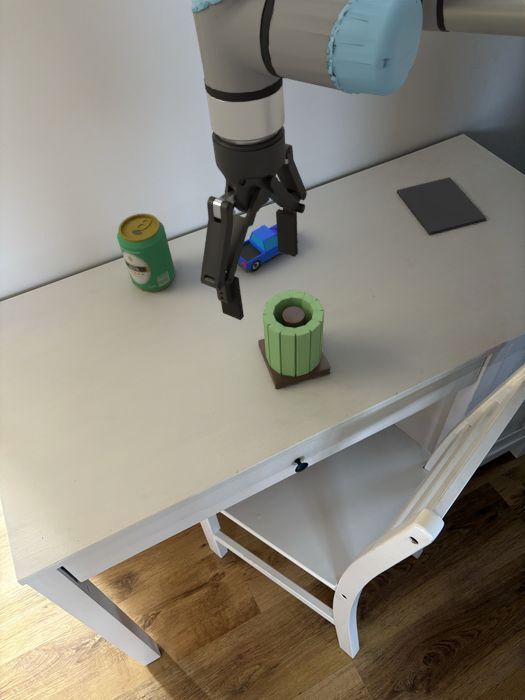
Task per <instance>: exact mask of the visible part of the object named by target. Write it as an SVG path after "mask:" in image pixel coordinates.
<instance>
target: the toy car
mask: <svg viewBox="0 0 525 700" xmlns="http://www.w3.org/2000/svg"><path fill="white" fill-rule="evenodd" d="M297 243H298V244H299V239H297ZM280 253H281V252H279V251H278V239H277V223H276V224H274V225H272V226H270V227H268V226H267V225H265V224H264V225H261V226H260V227H258V228H256V229H254V230H252V231H251V233H250V236H249V238H247V239H245V241H244V244H243V248H242V251H241V255H240V258H239V261H238V265H237V266H239V267H240V268H241V269H242V270H244V271H245V272H246V273H248V272H250V271H252V272H256V271H258V270H259V269H260V268H261V266H262V264H263V263H265V262H266V261H269V260H270V259H272V258H274V257H275V256H277V255H279V254H280Z"/></svg>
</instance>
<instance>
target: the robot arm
mask: <svg viewBox="0 0 525 700" xmlns="http://www.w3.org/2000/svg"><path fill="white" fill-rule="evenodd" d="M190 10H191V13H192V16H193V21H194V26H195V32H196V38H197V44H198V48H199V54H200V59H201V66H202V71H203V81H204V89H205V93H206V99H207V107H208V108H207V109H208V114H209V115H208V116H209V123H210V129H211V131H212V134H211V140H212V147H213V153H214V161H215V165H216V167H217V169H218V170H219V171H220V173H221V174H222V176H223V178H224V179H225V185H224V193H223V194H222V195H220V196H219V197H216V196H212V195H211V196H210V195H209V197H208V199H207V201H206V207H207V208H206V209H207V218H208V219H207V226H206V234H205V241H204V247H203V257H202V264H201V272H200V280H199V282H200V283H201V284H203V285H205V286H207V287H210V288H213V289H215V291H216V297H217V299H218V301H220V305H221V310H222V311H221V312H222V314H223V315H226V316H229V317H231V318H234V319H236V320H238V321H242V319H243V318H244V317H245V314H244V307H243V300H242V293H241V285H240V278H239V277H238V276H237V275H236V272H237V268H238V266H239V265H238V261H239V258H240V255H241V251H242V248H243V244H244V241H246V237H247V233H248V230H249V228H250V227H252V226H253V225H254V223H255V220H256V216H257V214H258V212H259V211H260V210H261V208H262V207H263V206H264V205H266V204H267V203H268V202H269V201H270V200H271V201H273V202H274V203H275V204H276V205H277V206H278V207H280V208H278V209H277V210H276V211H275V218H276V219H275V221H276V224H277V239H278V251H279V252H280V253H283V254H285V255H287V256H288V255H289V256H290V257H294V258H296V257H297V255H299V253H298V251H299V248H298V247H299V245H298V244H299V242H298V243H297V240H298V214H304V213H305V209H306V204H305V203H301V202H300V201H305V200H306V198H307V196H308V195H307V194H308V192H307V190H306V187H305V184H304V182H303V179H302V176H301V174H300V173H299V169H298V167H297V163H296V162H295V160H294V149H293V145H292V144H290V143H286V129H285V126H284V124H285V119H286V118H285V117H286V116H285V98H284V80H283V79H286V80H287V79H288V80H292V81H297V82H301V83H305V84H309V85H314V86H318V87H322V88H323V87H324V88H328V89H332V90H337V91H341V93H345V94H350V95H353V94H356V95H360V94H365V95H373V96H379V97H384V96H385V97H386V96H389V95H390V96H391V95H392V94H394V93H396V92H397V91H398V90H399V89H400V88H401V87H402V86H403V85H404V83H405V82H406V81H407V79H408V76H409V72H410V70H411V69H412V68H413V66H414V63H415V61H416V58H417V55H418V51H419V46H420V43H421V37H422V32H423V31H425V32H439V33H441V32H442V33H452V32H453V33H465V34H479V35H493V36H508V37H522V38H525V0H191V8H190ZM235 209H236V210H237V211H239V212H241V213H243V214H245V216H242V215H239V214H236V213H237V211H236V210H235Z"/></svg>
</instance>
